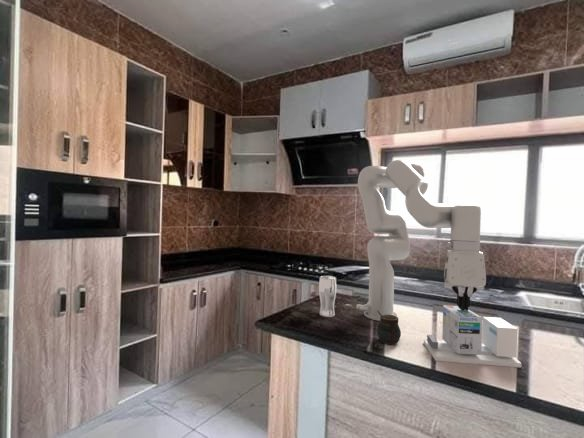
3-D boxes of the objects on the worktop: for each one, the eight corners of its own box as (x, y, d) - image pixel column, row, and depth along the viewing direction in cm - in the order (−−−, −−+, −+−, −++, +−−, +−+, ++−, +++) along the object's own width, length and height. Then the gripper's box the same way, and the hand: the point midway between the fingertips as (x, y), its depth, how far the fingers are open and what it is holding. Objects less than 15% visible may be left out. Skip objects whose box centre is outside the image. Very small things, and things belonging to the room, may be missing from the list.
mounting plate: (435, 360, 88) (435, 346, 88) (423, 343, 100) (424, 330, 100) (521, 367, 85) (521, 352, 85) (498, 348, 97) (498, 335, 97)
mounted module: (496, 356, 87) (497, 327, 87) (481, 342, 96) (482, 316, 96) (516, 357, 87) (517, 328, 86) (499, 344, 96) (500, 317, 95)
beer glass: (337, 317, 122) (337, 279, 122) (319, 317, 123) (319, 279, 122) (334, 312, 129) (335, 275, 129) (317, 311, 130) (318, 275, 129)
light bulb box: (482, 355, 88) (483, 316, 87) (457, 354, 88) (458, 316, 88) (463, 339, 98) (464, 305, 98) (441, 339, 98) (442, 304, 98)
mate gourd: (405, 346, 98) (406, 314, 97) (382, 347, 96) (383, 314, 96) (394, 336, 105) (394, 307, 104) (372, 337, 103) (373, 307, 103)
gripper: (442, 247, 89) (440, 311, 90) (499, 248, 87) (497, 314, 88) (433, 244, 97) (432, 304, 97) (486, 246, 95) (484, 306, 95)
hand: (463, 308), depth 92 cm, fingers closed
